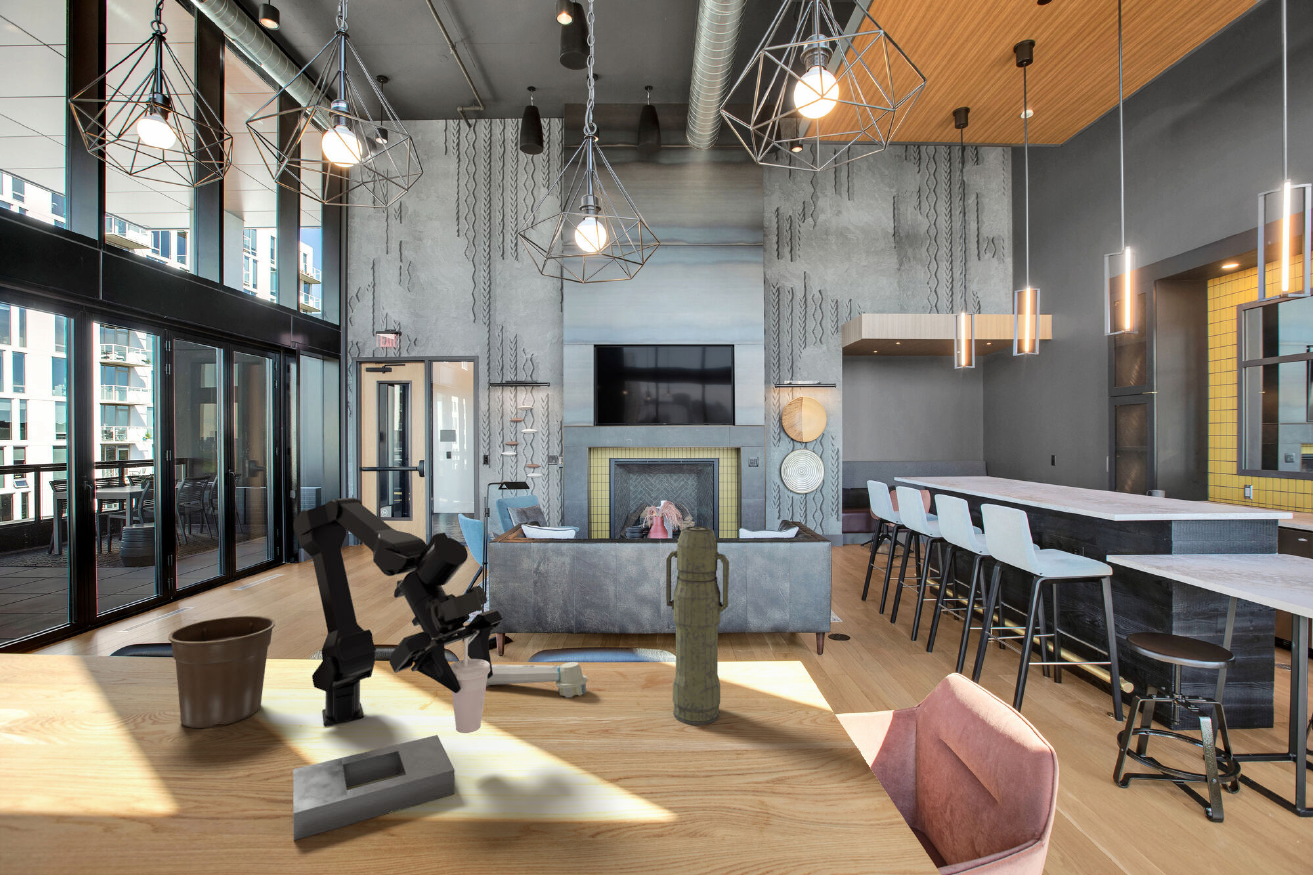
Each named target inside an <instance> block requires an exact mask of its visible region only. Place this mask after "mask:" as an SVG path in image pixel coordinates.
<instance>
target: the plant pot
mask: <svg viewBox="0 0 1313 875" xmlns="http://www.w3.org/2000/svg"><path fill="white" fill-rule="evenodd" d="M275 626H276V621H275V619H274V618H272V617H267V616H262V615H237V616H236V615H235V616H226V617H219V618H212V619H210V618H209V619H205V620H202V621H201V620H200V621H197V622H194V623H190V624H187V625H185V626H182V627H178V628H176V629H175V630H173V631H171V632H170V633H169V634H168V635H167V638H168V641H169V642H170V643H171V648H172V649H171V650H172V657H173V658H172V659H174V660H175V669H176V680H177V690H178V691H177V692H178V701H179V702H178V704H179V705H178V706H179V713H180V714H179V716H180V717H179V718H180V723H181V724H182V725H183V726H185V727H189V728H193V729H206V728H207V729H208V728H212V727H214V726H215V725H219V724H222V725H224V726H227V725H230V724H233V723H236V722H239V721H242V720H244V719H246V718H247V719H248V718H249V717H251V716H252V715H254V714H256V713H257V712H258V711H259V709H260V708H261V705H262V700H263V699H262V697H263V692H264V691H263V689H264V682H265V674H266V665H267V658H268V656H267V655H268V648H269V646H270V645H271V642H272V641H271V640H272V635H273V634H272V633H273V629H274V628H275Z"/></svg>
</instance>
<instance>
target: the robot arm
mask: <svg viewBox="0 0 1313 875" xmlns="http://www.w3.org/2000/svg"><path fill="white" fill-rule="evenodd" d="M292 527H293V531H294V534H296V538H297V541H298V544H299V546H300V548H301V549H302V550H304V551H305V552H306V554H308V555H309V556H310V557H311V559H312V563H313V566H314V572H315V577H316V582H317V586H318V590H319V596H320V600H321V606H322V611H323V616H324V620H325V625H326V629H327V635H326V638H325V641H324V643H323V646H322V648H321V658H322V659H321V660H322V661H321V663H320V664H319V665H318V667H317V668H316V669H315V671H314V672H313V673H312V675H311V678H312V684H313V687H314V688H316V689H317V690H318V689H319V690H321V691H324V692H325V708H324V709H322V710H321V713H322V722H323V723H322V724H323V726H329V725H333V724H339V723H342V722H343V723H344V722H347V721H353V720H356V719H357V720H358V719H362V718H364V717H365V713H364V711H363V707H362V702H361V681H362V680H365V679H367V678H368V679H369V678H371V677H372V674H373V671H374V667H375V662H376V659H377V652H376V651H377V649H376V646H375V644H374V638H373V633H372V631H371V630H370V629H364V628H362V626H360V625H359V624H358V622H357V616H356V612H355V606H354V602H353V598H352V593H351V590H350V584H349V580H348V579H349V578H348V575H347V571H346V567H345V562H344V557H343V553H342V548H343V546H344V543H345V541H346V539H347V536H348V532H349V533H350V534H351V535H352V536H354V537H355V538H356V539H357V540H359V541H360V542H361V543H362V544H363V545H365V546H366V547H367V548H369V549H370V551H371V552H372V561H373V563H374V564H375V566H376V567H378V569H379V570H380V571H381V572H382V573H383V574H384V575H385V576H387V577H393V576H398V575H403V574H406V575H405V576H404V578H403V579H401V580H397V582H396V587H395V589H394V591H393V597H394V598H396V599H398V598H401V597H404V599H405V601H406V602H407V604H408V606H409V608H410V609H411V611H412V613H413V616H414V617H413V618H412V620H411V623H412V625H413V626H414V627H416V626H419V627H420V628H421V631H420V632H417V633H414V634H411V635H407V636H405V637H403V639H402V640H401V641H400V642H399V644H398V645H397V646H396V647H395V648H394V650H393V651H392V652H391V653H390V655H389V665H390V667H391V669H392V671H393V672H394V673H395V674H396V673H400V672H402V671H405V670H407V669H410V671H411V672H419V673H420V674H423V675H425V676H426V677H428V678H431V679H432V680H434V681H435V682H437V683H439V684H440V685H442V686H443V687H445V688H446V689H448V690H449V691H451V692H452V691H453V692H454V693H458V692H459V691H460V690H461V688H460V685H459V683H458V680H457V678H456V676H455V674H454V673H453V671H452V669H451V667H450V665H451V664H450V662H448V660H447V658H446V651H445V650H446V649H445V646H447V645H451V644H453V643H456V642H460V641H461V640H464V638H468V659H481V660H485V661H487V662H489V663H490V672H489V673H488V676H487V678H488V679H489V678H491V677H492V676H493V671H492V665H493V664H492V659H491V654H490V647H489V646H490V644H489V643H490V642H489V640H490V636H491V635H492V634H493V633H494V632H495V631H496V630H497V629H498V627H500V625H501V624H502V623H503V622H504V619H503V617H502V615H501V614H500V611H499V610H496V609H490V610H486V611H483V610H484V609H483V606H482V605H485V604H487V602H488V596H487V595H486V592H485V590H484V589H483V588H482V585H480V584H479V585H476V586H472V587H471V588H468V589H466V592H465V593H464V594H461V595H457V596H456V595H454V594H453V593H451V594H447V593H446V591H445V589H444V588H443V586H445V585H447V584H448V583H449V582H451V580H452V579H453V577H454V576H455V575H456V574H457V572H458V571H459V570H460V568H462V566H463V565H464V564H465V563H466V562H467V560H468V556H469V554H468V550H467V548H466V546H465V545H464V544H462V543H461V542H460V541H458V540H457V539H455V538H452V537H448V535H447V534H446V532H438V533H434V534H433V535H432V536H431V538H430V540H429V542H428V544H426V542H425V541H424V540H423V539H422V538H421V537H420V536H419V537H418V536H416V535H415V534H412V533H410V532H405V531H399V530H396V529H394V528H392V526H390V525H389V524H387V523H386V522H385V521H384V520H383V519H381V518H380V517H378V516H377V515H376V514H374V513H373V511H371V510H370V509H368V508H367V507H366V506H365V505H363V503H362V501H361V500H360V499H359V498H356V497H344V498H334V499H332V500H329V501H327V502H326V503H324V504H322V505H319V506H316V507H313V508H311V509H304V510H301V511H300V512H299V513H298V516H296V517H295V518H294V520H293V526H292ZM481 611H483V612H481ZM475 612H479V613H477V614H476V615H475V617H473V618H472V620H471V621H470V622H469V623H468V624H467V625H465V623H467V621H469V620H470V619H471V616H470V615H471V614H473V613H475ZM480 612H481V613H480ZM491 664H492V665H491Z"/></svg>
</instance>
